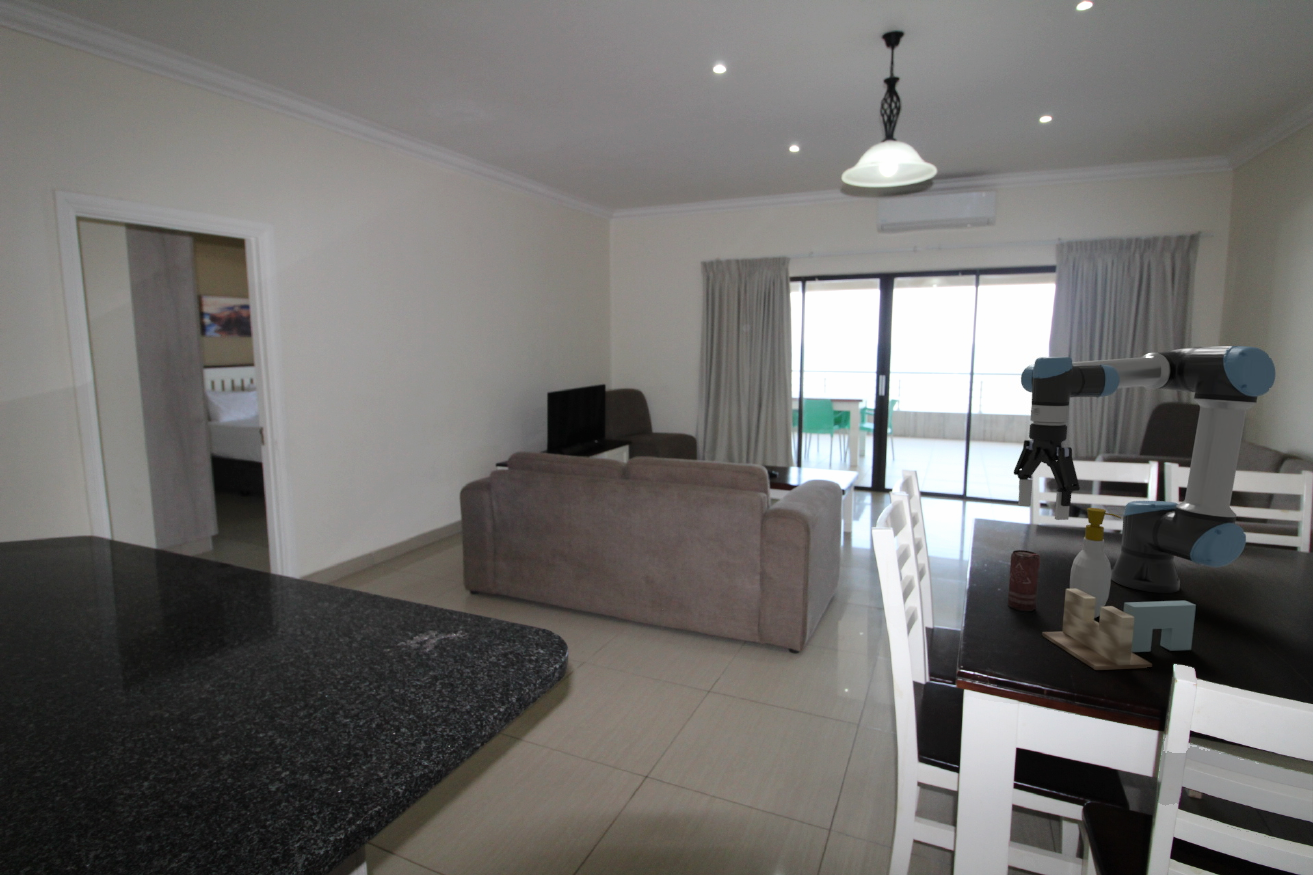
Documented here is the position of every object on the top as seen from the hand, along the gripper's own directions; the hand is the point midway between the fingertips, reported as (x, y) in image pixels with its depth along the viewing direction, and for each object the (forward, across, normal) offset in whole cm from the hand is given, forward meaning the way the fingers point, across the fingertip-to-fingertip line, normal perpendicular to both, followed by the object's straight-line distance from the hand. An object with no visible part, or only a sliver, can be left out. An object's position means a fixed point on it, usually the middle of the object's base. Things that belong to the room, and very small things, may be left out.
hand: (1042, 512), depth 152 cm
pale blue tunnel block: (+26, +19, +15) cm, 35 cm away
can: (+26, -5, 0) cm, 26 cm away
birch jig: (+26, +19, +1) cm, 32 cm away
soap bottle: (+26, 0, +14) cm, 29 cm away
